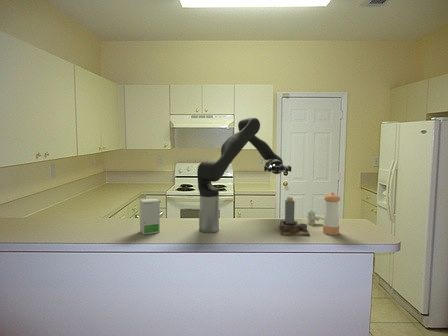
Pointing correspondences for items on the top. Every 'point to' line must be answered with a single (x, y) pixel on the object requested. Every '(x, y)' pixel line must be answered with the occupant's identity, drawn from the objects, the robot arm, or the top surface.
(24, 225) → the top surface
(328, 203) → the pepper shaker
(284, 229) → the bit block
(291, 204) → the grey square column
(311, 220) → the valve
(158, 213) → the skincare box
